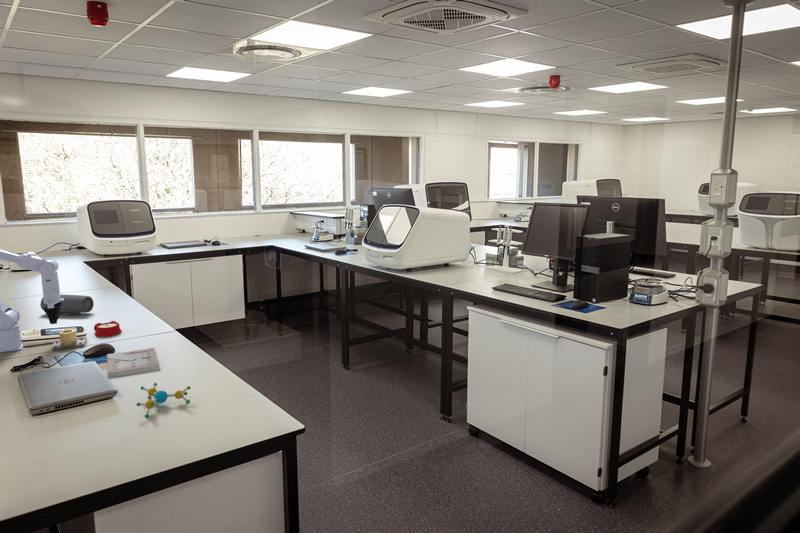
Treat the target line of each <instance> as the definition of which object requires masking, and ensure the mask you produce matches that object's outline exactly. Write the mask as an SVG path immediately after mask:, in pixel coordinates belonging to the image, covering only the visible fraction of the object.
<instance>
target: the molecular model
mask: <svg viewBox="0 0 800 533" xmlns="http://www.w3.org/2000/svg"><path fill="white" fill-rule="evenodd" d="M157 383H158V382H154V383H153V387H150V388H149V389H147V387H145V386H144V385H143V386H141V387H140V390H141V391H143V390H144V391H146V392H147V395H148V396H147V399H148V400H147V401H146V402H144V403H143V402H142V403H141V402H137V403H136V406H137V407H140V406H145V408H146V409H147V411H146V414H144V417H145V418H149V417H150V415H149V414H150V409H153V408H155V405H156V403H157V404H163V403H166V401H167V400H168V398H173V397H174V398H175V399H177V400H180V399H182V400H183V401H185V402H186V404H188V403H190V402H191V400H190V399H187V398H186V397H185V396H187V395H188V390H189V391H190V390H191V386H190V385H189V386H188V385H187V387H186V388H184V389H183V390H179V389H178V390H177V391H175V393H169V394H168V393H167V391H165V390H157V389H156V387H157V386H158V384H157ZM152 397H153V400H152Z"/></svg>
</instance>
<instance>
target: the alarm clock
mask: <svg viewBox="0 0 800 533" xmlns="http://www.w3.org/2000/svg"><path fill="white" fill-rule="evenodd" d="M93 331H94V335H95V337H100V338H101V337H102V338H103V337H112V336H116V335H118V334H119V335H120V334H121V333H122V329H121V327H120V323H119V322H117V321H116V320H110V321H109V322H103V323H101V322H97V323H96V324H94V326H93Z"/></svg>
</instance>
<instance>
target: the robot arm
mask: <svg viewBox="0 0 800 533" xmlns="http://www.w3.org/2000/svg"><path fill="white" fill-rule="evenodd" d="M0 260H2V261H6V262H10V263H15V264H16V265H17V266H18V268H21V269H25V270H29V271H33V272H36V273H37V272H38V273H39V274H40V276H41V279H40V280H41V288H42V298H43V297H44V301H43V302H44V303H45V304H46V305H47V307H44V308H43V310H42V311H43V312H44V313H45V314H46V316H47V318H48V319H47V320H48V321H49V324H50V325H56V324H58V320H59V319H60V314H59V313H60V307H61V304H62V301H64V298H62V299H61V298H60V295H61V291H60V282H59V281H60V280H59V275H58V269H59V263H58V262H57V261H56V260H53V259H51V258H50V259H49V258H48V259H46V257H38V256H34V255H33V253H23V254H21V255H19V254H16V253H13V252H10V251H8V250H3V249H0ZM20 318H21V315H20V313H19V311H18V310H16V309H14V308H13V307H11V306H10V305H9V303H6V302H4V300H3V299H2V298H1V297H0V353H5V352H12V351H14V352H15V351H20V350H22V349H23V347H24V346H25V344H24V345H23V344H22V337H21V336H22V335H21V330H20V324H19V323H18V322H19V320H20Z"/></svg>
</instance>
